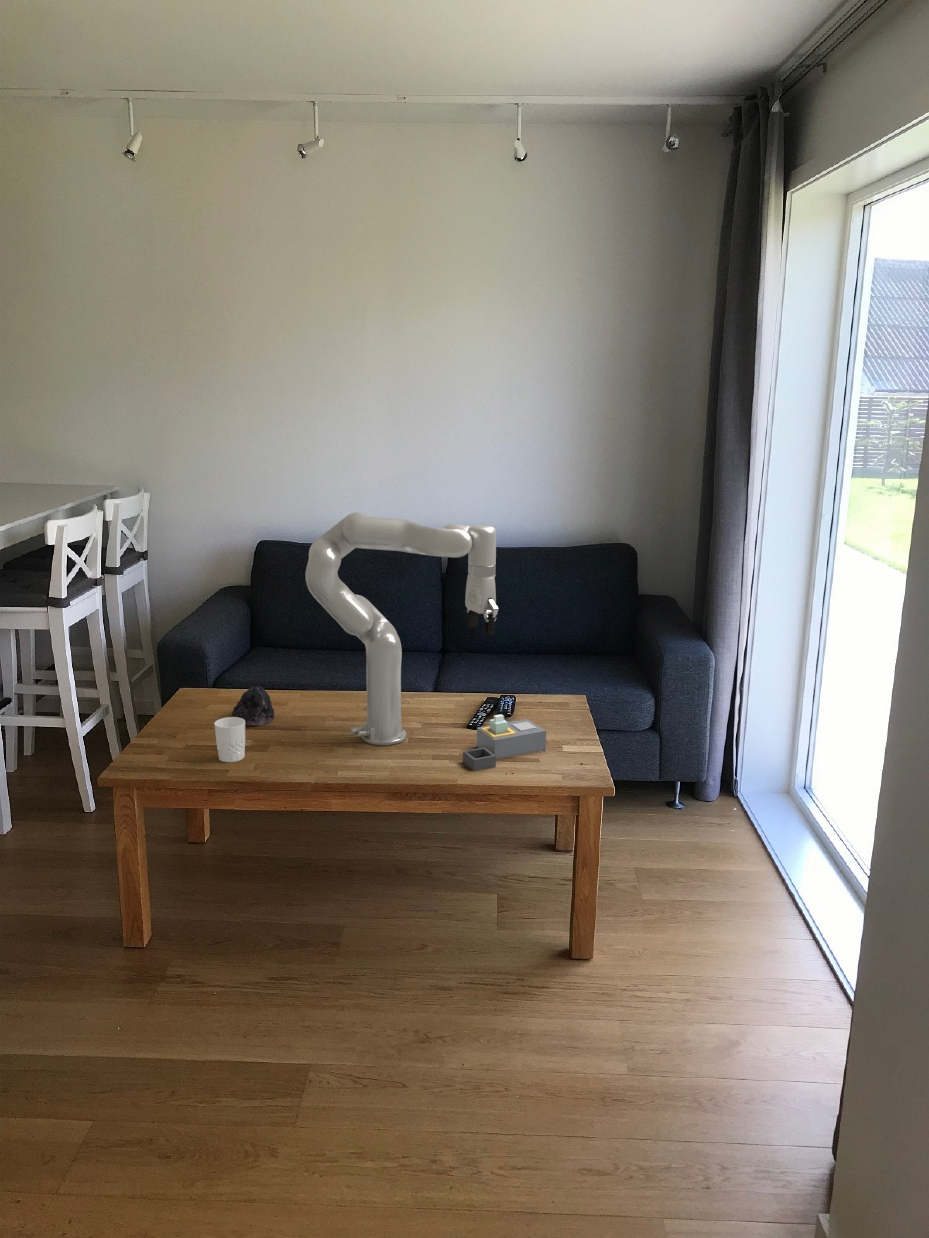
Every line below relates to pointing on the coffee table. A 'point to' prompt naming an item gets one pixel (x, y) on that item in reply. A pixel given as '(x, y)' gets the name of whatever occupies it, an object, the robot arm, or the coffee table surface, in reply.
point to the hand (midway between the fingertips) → (480, 630)
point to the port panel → (513, 739)
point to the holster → (479, 759)
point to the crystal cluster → (254, 707)
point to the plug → (498, 725)
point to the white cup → (230, 739)
